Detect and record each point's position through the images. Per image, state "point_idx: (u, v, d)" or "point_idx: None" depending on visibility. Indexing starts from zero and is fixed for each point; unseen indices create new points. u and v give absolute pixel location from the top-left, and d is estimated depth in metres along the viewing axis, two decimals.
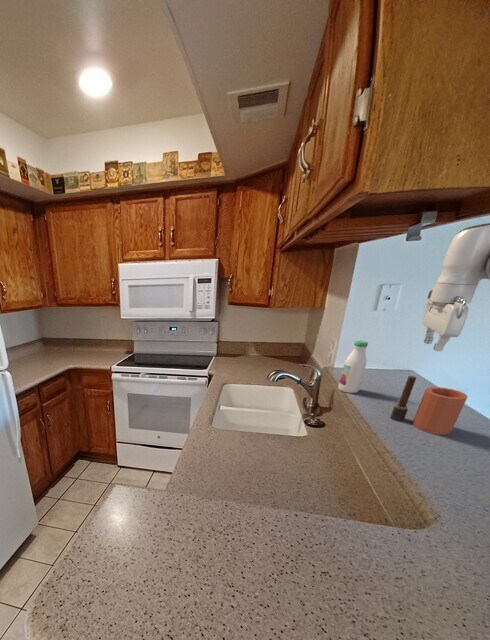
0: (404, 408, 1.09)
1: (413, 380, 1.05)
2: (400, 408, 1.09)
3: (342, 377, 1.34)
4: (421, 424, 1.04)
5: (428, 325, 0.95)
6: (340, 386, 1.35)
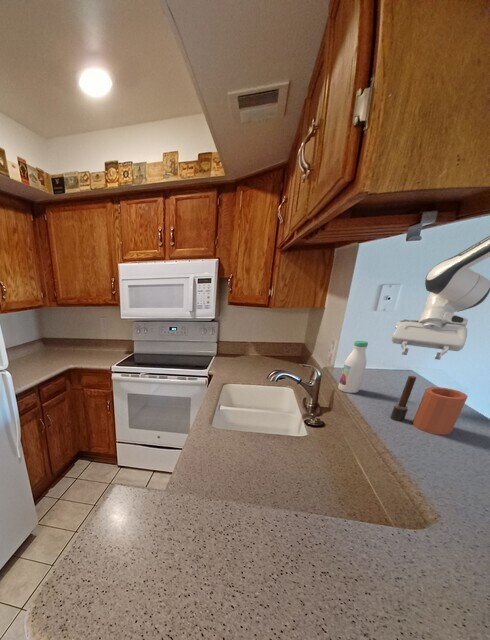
0: (404, 408, 1.09)
1: (413, 380, 1.05)
2: (400, 408, 1.09)
3: (342, 377, 1.34)
4: (421, 424, 1.04)
5: None
6: (340, 386, 1.35)
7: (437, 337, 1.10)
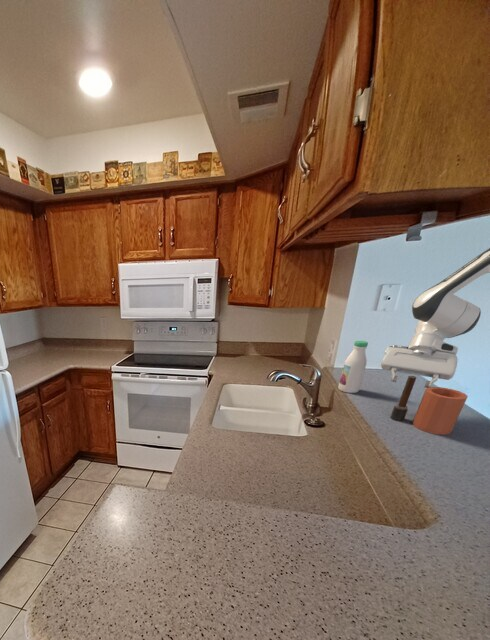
0: (404, 408, 1.09)
1: (413, 380, 1.05)
2: (400, 408, 1.09)
3: (342, 377, 1.34)
4: (421, 424, 1.04)
5: None
6: (340, 386, 1.35)
7: (427, 365, 1.07)
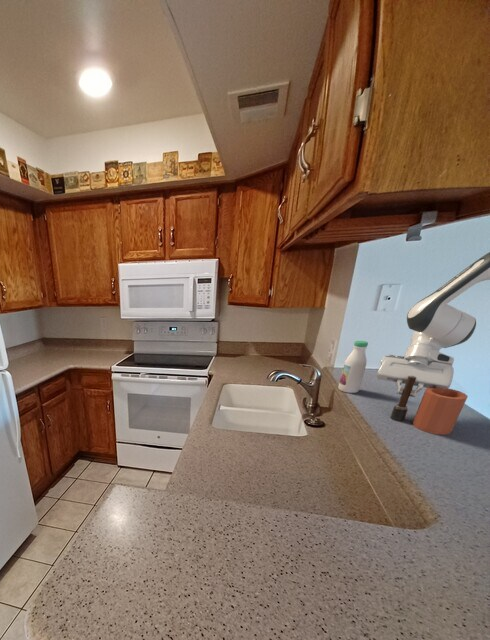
0: (404, 408, 1.09)
1: (413, 380, 1.05)
2: (400, 408, 1.09)
3: (342, 377, 1.34)
4: (421, 424, 1.04)
5: None
6: (340, 386, 1.35)
7: (423, 376, 1.06)
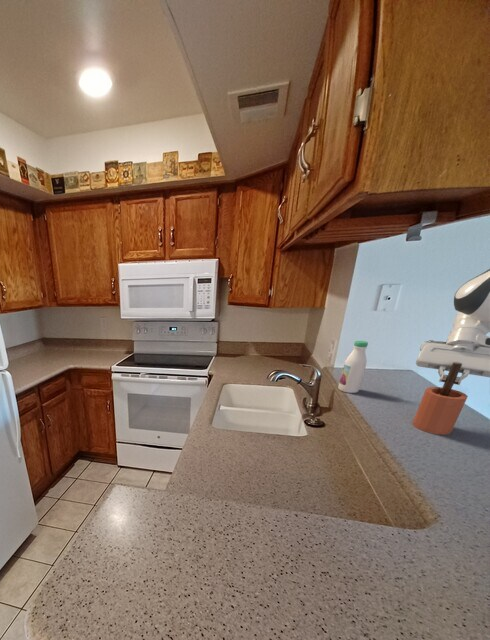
0: None
1: (458, 367, 0.97)
2: None
3: (342, 377, 1.34)
4: (421, 424, 1.04)
5: None
6: (340, 386, 1.35)
7: (469, 361, 0.98)
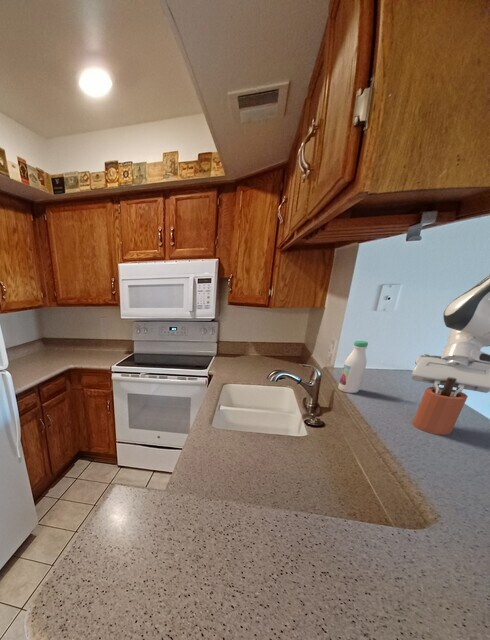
0: None
1: (452, 382, 0.98)
2: None
3: (342, 377, 1.34)
4: (421, 424, 1.04)
5: None
6: (340, 386, 1.35)
7: (463, 377, 0.99)
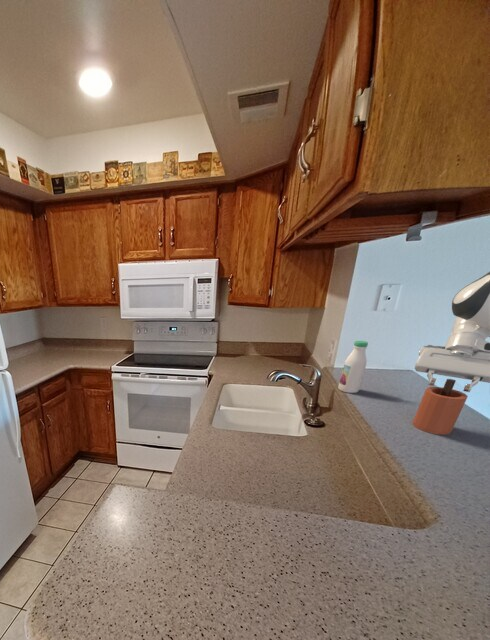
0: None
1: (452, 383, 0.99)
2: None
3: (342, 377, 1.34)
4: (421, 424, 1.04)
5: None
6: (340, 386, 1.35)
7: (467, 367, 0.98)
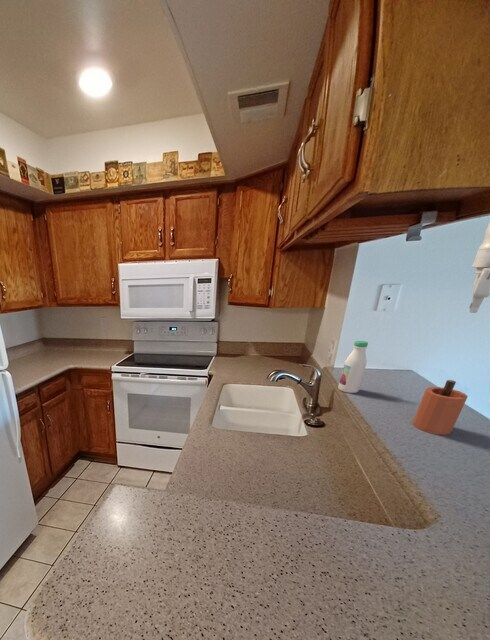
0: None
1: (452, 385, 0.98)
2: None
3: (342, 377, 1.34)
4: (421, 424, 1.04)
5: (472, 291, 1.03)
6: (340, 386, 1.35)
7: None
